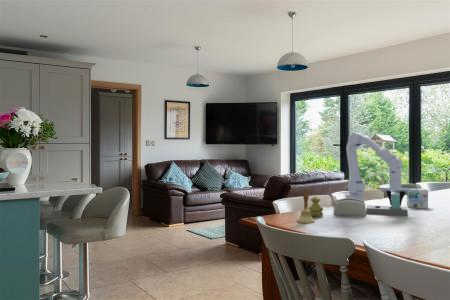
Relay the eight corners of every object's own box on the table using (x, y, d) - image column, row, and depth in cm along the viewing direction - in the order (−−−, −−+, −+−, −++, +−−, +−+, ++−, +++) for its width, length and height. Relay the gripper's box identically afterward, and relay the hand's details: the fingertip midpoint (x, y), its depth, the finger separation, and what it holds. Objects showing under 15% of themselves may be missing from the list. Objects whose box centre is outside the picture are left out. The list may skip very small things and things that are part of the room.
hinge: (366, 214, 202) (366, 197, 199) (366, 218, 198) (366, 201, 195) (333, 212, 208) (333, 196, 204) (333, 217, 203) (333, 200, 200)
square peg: (391, 209, 202) (391, 194, 202) (391, 208, 206) (391, 193, 206) (399, 210, 201) (399, 194, 200) (399, 208, 204) (399, 194, 204)
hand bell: (302, 219, 189) (301, 187, 189) (317, 221, 184) (317, 188, 184) (294, 222, 183) (293, 188, 183) (309, 224, 177) (309, 189, 177)
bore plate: (366, 213, 203) (366, 208, 203) (367, 210, 214) (367, 205, 214) (407, 215, 196) (407, 210, 196) (406, 212, 207) (406, 206, 207)
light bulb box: (408, 207, 223) (408, 189, 223) (406, 206, 230) (406, 188, 230) (428, 208, 220) (428, 189, 220) (426, 206, 227) (426, 188, 227)
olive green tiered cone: (323, 217, 193) (323, 198, 193) (308, 217, 194) (308, 197, 194) (322, 215, 200) (322, 196, 200) (308, 215, 202) (308, 196, 202)
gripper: (380, 180, 202) (380, 205, 202) (410, 180, 197) (411, 207, 197) (380, 179, 209) (381, 203, 209) (410, 179, 203) (410, 205, 203)
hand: (395, 205), depth 203 cm, fingers closed on square peg, 4 cm apart
